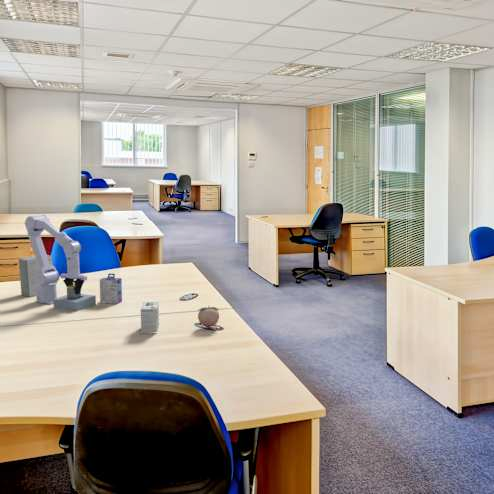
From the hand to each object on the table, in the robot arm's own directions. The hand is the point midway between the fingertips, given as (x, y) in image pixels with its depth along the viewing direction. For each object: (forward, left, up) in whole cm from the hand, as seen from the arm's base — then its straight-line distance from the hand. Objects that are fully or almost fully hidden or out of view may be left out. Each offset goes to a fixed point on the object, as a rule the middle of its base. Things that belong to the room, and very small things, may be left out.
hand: (74, 293), depth 254 cm
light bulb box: (+54, -17, -6) cm, 57 cm away
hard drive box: (-35, +12, -6) cm, 38 cm away
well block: (0, 0, -6) cm, 6 cm away
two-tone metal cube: (0, 0, -2) cm, 2 cm away
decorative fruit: (+76, -5, -6) cm, 76 cm away
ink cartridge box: (+12, +13, -6) cm, 19 cm away
